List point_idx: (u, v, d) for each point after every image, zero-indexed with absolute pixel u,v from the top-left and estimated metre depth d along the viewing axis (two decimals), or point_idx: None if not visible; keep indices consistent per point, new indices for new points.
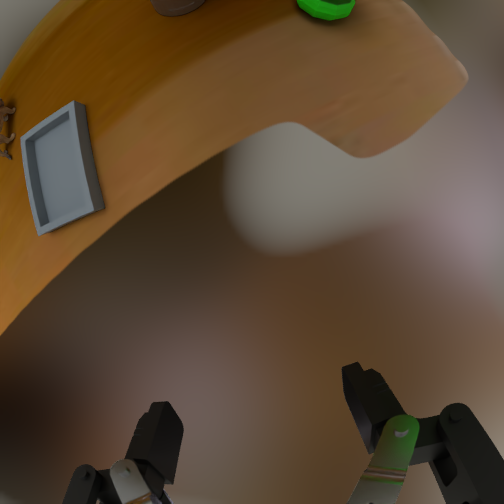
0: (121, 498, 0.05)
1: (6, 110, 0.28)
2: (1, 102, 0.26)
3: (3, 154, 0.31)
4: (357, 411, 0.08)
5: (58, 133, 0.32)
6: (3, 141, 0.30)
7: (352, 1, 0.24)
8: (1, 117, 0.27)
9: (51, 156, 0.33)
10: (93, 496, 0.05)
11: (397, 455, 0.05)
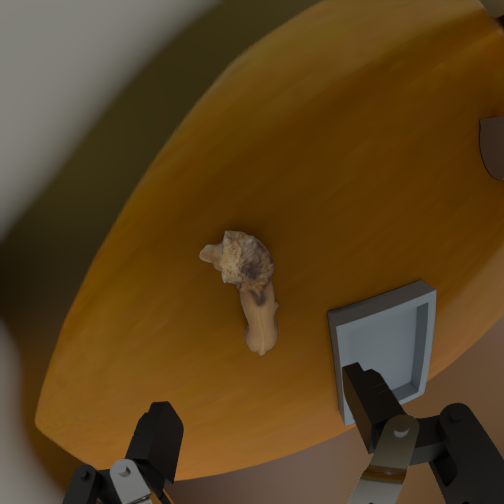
0: (121, 498, 0.05)
1: None
2: (269, 255, 0.23)
3: None
4: (357, 411, 0.08)
5: None
6: None
7: None
8: None
9: (371, 342, 0.30)
10: (93, 496, 0.05)
11: (397, 455, 0.05)
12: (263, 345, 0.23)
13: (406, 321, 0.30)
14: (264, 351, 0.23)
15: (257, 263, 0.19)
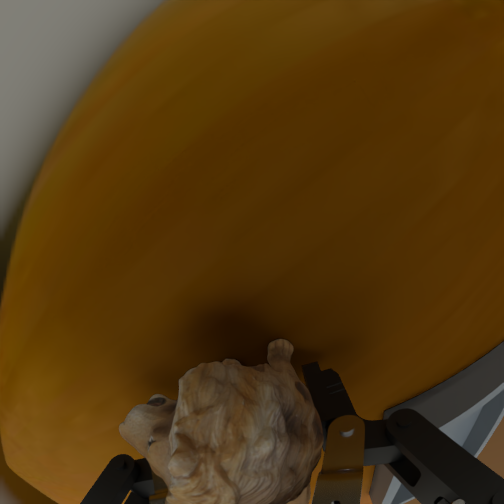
0: (155, 484, 0.06)
1: None
2: (311, 402, 0.08)
3: None
4: None
5: None
6: None
7: None
8: None
9: None
10: (125, 489, 0.06)
11: (349, 454, 0.06)
12: None
13: None
14: None
15: (287, 492, 0.04)
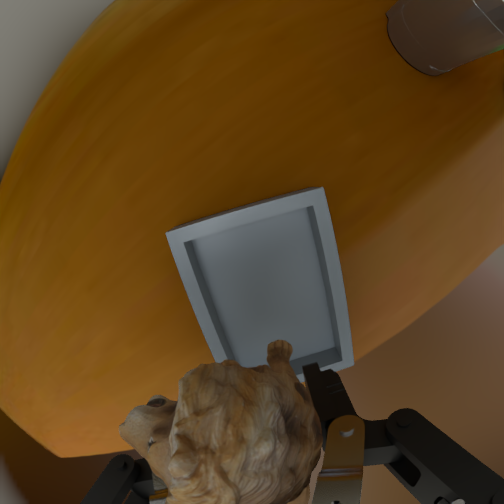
0: (155, 484, 0.06)
1: None
2: (310, 403, 0.08)
3: None
4: None
5: (261, 233, 0.24)
6: None
7: None
8: None
9: (245, 273, 0.25)
10: (125, 489, 0.06)
11: (349, 454, 0.06)
12: None
13: (297, 245, 0.25)
14: None
15: (286, 493, 0.04)
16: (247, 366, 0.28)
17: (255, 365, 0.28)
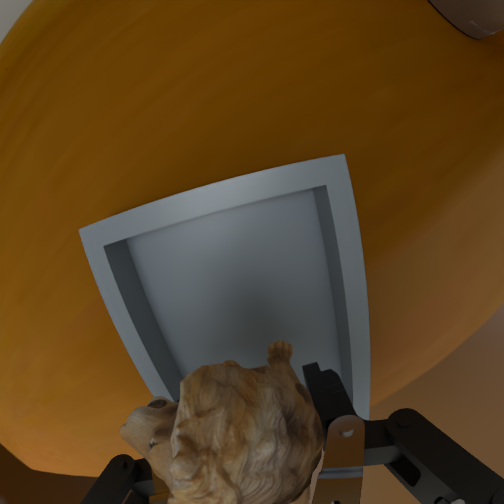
0: (155, 484, 0.06)
1: None
2: (311, 404, 0.08)
3: None
4: None
5: (235, 232, 0.14)
6: None
7: None
8: None
9: (210, 296, 0.15)
10: (125, 489, 0.06)
11: (349, 454, 0.06)
12: None
13: (296, 254, 0.15)
14: None
15: (288, 494, 0.04)
16: None
17: None
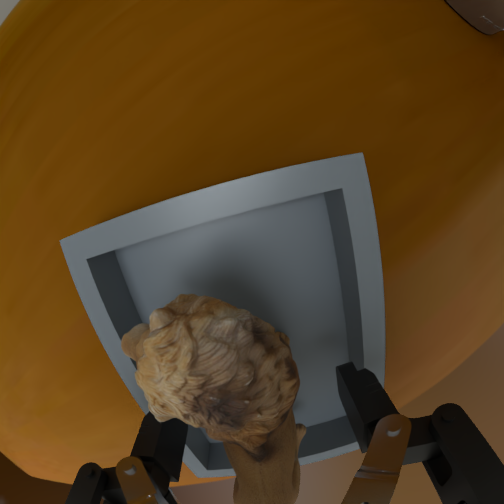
0: (126, 496, 0.05)
1: None
2: None
3: None
4: (350, 410, 0.09)
5: (236, 242, 0.13)
6: None
7: None
8: None
9: None
10: (97, 494, 0.05)
11: (390, 454, 0.05)
12: None
13: (304, 266, 0.13)
14: None
15: (245, 387, 0.06)
16: None
17: None
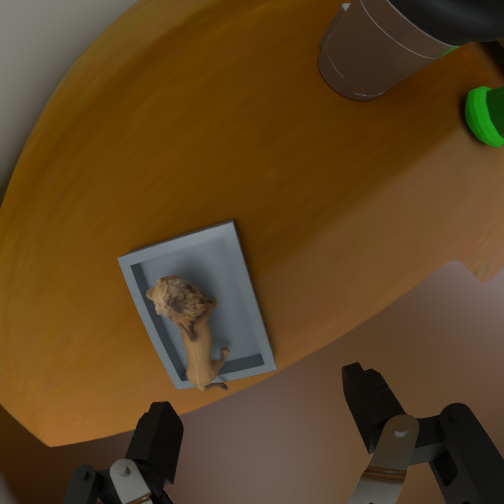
0: (121, 498, 0.05)
1: (211, 311, 0.28)
2: (205, 299, 0.26)
3: (215, 385, 0.28)
4: (357, 411, 0.08)
5: (191, 257, 0.30)
6: None
7: None
8: None
9: None
10: (93, 496, 0.05)
11: (397, 455, 0.05)
12: (198, 378, 0.24)
13: (220, 267, 0.30)
14: (200, 385, 0.24)
15: (181, 299, 0.23)
16: None
17: None
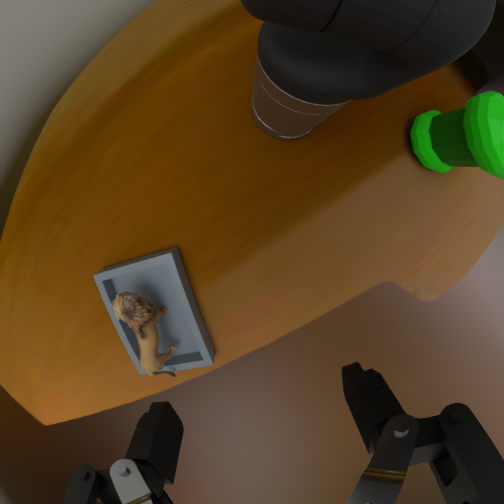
0: (121, 498, 0.05)
1: (159, 317, 0.36)
2: (152, 308, 0.34)
3: (165, 373, 0.36)
4: (357, 411, 0.08)
5: (146, 275, 0.38)
6: (165, 360, 0.35)
7: None
8: (157, 330, 0.35)
9: None
10: (93, 496, 0.05)
11: (397, 455, 0.05)
12: (146, 366, 0.32)
13: (168, 283, 0.38)
14: (149, 371, 0.32)
15: (132, 309, 0.31)
16: None
17: None
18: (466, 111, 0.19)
